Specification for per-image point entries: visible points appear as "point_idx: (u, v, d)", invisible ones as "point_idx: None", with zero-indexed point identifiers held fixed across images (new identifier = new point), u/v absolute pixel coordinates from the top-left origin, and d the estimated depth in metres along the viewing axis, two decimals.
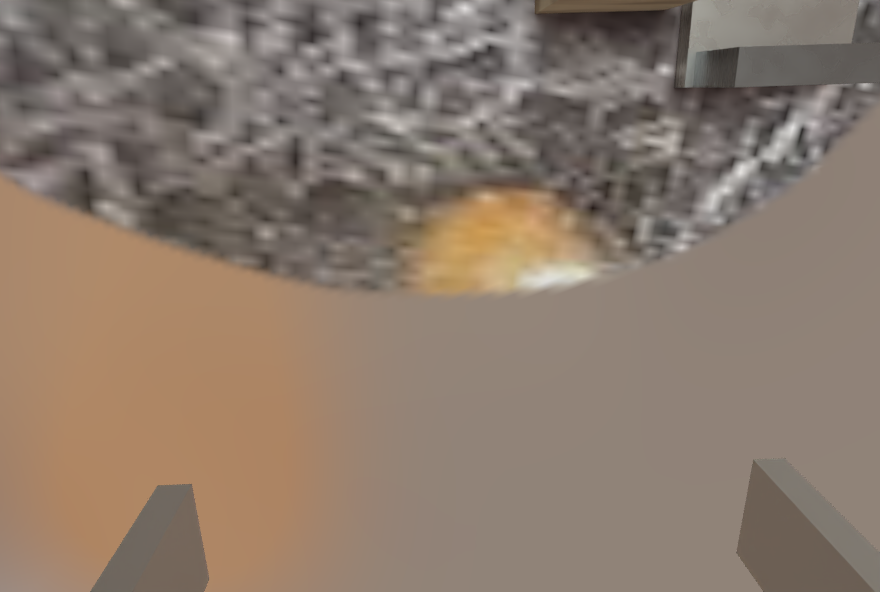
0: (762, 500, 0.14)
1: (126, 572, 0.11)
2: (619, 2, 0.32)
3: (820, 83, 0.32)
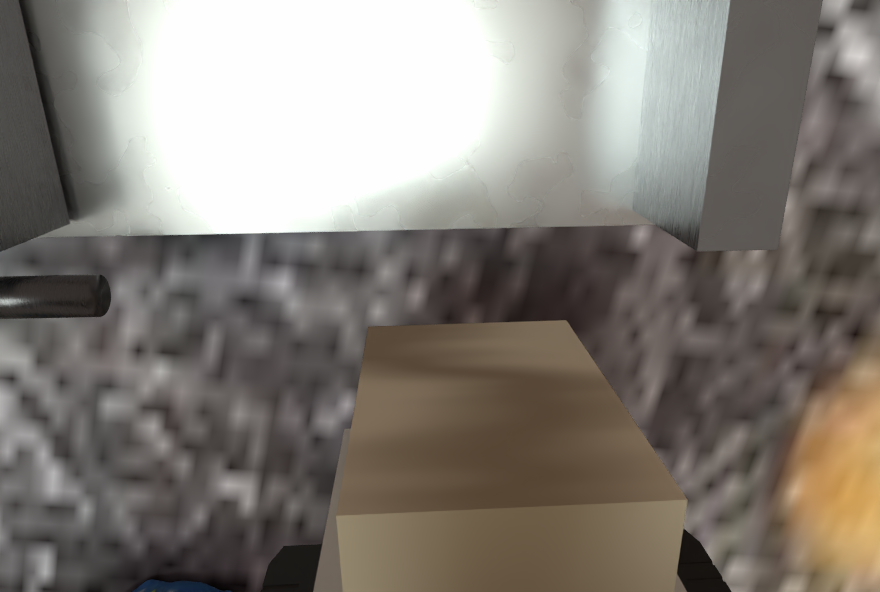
0: None
1: None
2: None
3: (811, 43, 0.13)
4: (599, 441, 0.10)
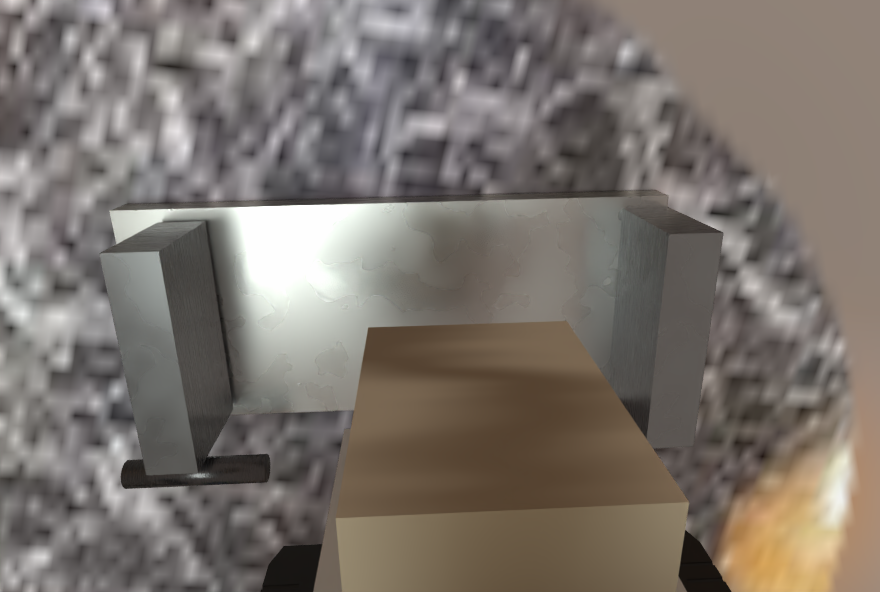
0: None
1: None
2: None
3: (706, 341, 0.23)
4: (600, 442, 0.10)
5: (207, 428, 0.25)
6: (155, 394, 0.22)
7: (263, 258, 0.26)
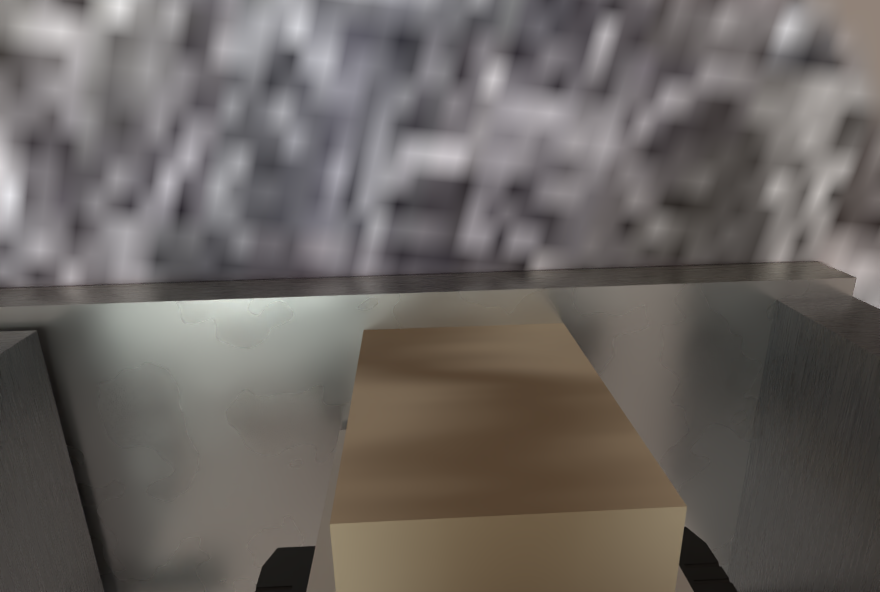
0: None
1: None
2: None
3: None
4: (597, 446, 0.10)
5: None
6: None
7: (149, 388, 0.15)
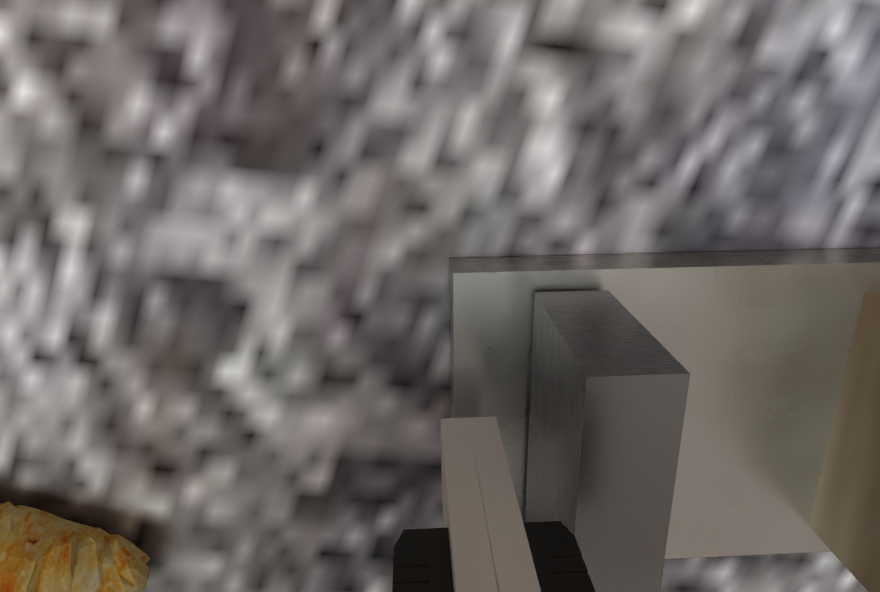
0: None
1: (465, 477, 0.13)
2: None
3: None
4: None
5: None
6: None
7: (668, 344, 0.17)
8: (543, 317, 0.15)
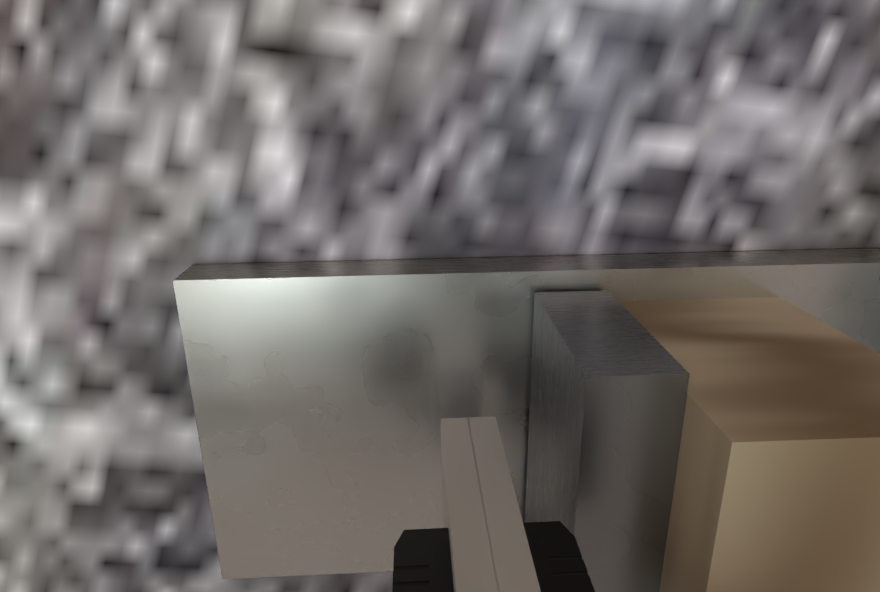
0: None
1: (465, 477, 0.13)
2: None
3: None
4: None
5: None
6: None
7: (408, 352, 0.17)
8: (543, 317, 0.15)
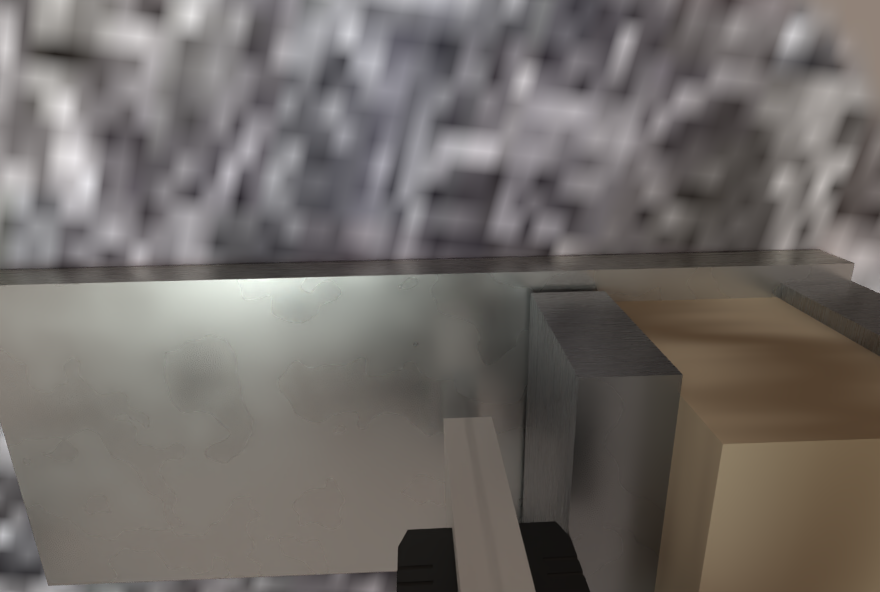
0: None
1: (468, 477, 0.13)
2: None
3: None
4: None
5: None
6: None
7: (210, 358, 0.17)
8: (538, 318, 0.15)
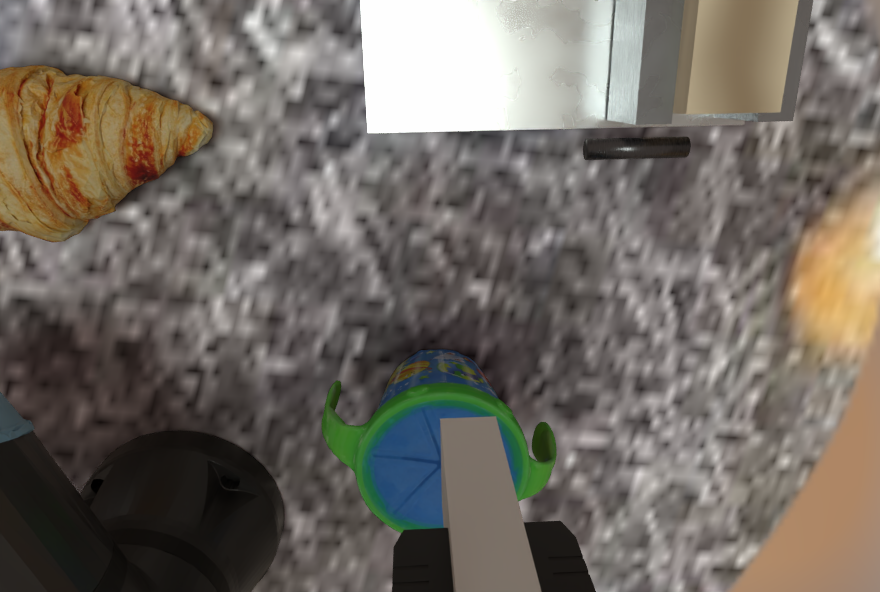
0: None
1: (465, 477, 0.13)
2: None
3: (807, 29, 0.32)
4: None
5: None
6: (659, 54, 0.32)
7: None
8: None
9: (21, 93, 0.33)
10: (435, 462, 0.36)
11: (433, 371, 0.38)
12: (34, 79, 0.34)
